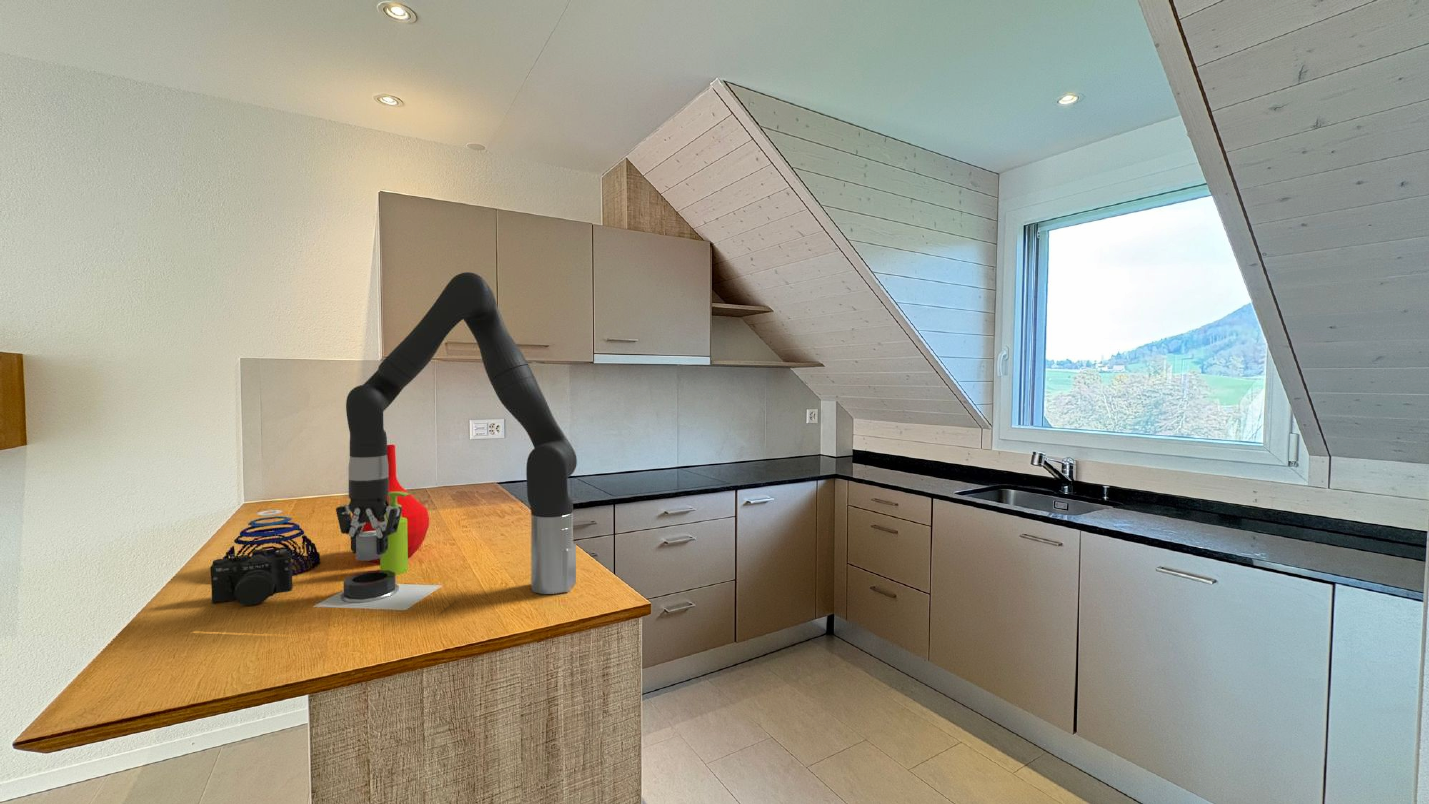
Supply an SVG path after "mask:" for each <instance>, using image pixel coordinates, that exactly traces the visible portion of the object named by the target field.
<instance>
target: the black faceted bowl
mask: <svg viewBox="0 0 1429 804" xmlns="http://www.w3.org/2000/svg"><path fill="white" fill-rule="evenodd" d="M397 584H398V583H396V575H395V572H392V571H387V570H369V571H364V572H359V573H356V574H353V575H350V576H348V577H346V578H345V579H344V581H343V590H344V592H343V593H342V594H341V600H342V601H344V602H348V603H365V602H372V601H377V600H381V599H384V598H387V597H390V596H392V595H394V594H395V593H397V592H398V591H399V586H398V585H397Z"/></svg>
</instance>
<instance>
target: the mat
mask: <svg viewBox="0 0 1429 804" xmlns="http://www.w3.org/2000/svg"><path fill="white" fill-rule="evenodd" d="M396 584H397V585H398V586H399V591H398V592H397V593H395V594H394V595H392V596H390V597H387V598H384V599H381V600H377V601H372V602H365V603H348V602H344V601H342V600H341V594H342V593H343V592H344V589H343V590H342V591H339V592H338V593H336V594H333V595H332V596H330V597H328V598H327V599H325V600H323V601H321V602H318V603H316V604H315V605H313V606H312V608H318V607H319V608H334V609H336V608H338V609H340V608H341V609H366V610H367V609H371V610H391V611H392V610H394V611H397V610H398V611H406V610H408V609H409V608H411V607H413V606H414V605H416V604H417V603H419V602H420V601H422V600H423V599H425V598H426V597H427V596H429V595H431V594H433V592H435V591H437V590H438V589H439V588H441V587H443V585H440V584H439V585H437V584H410V583H409V584H407V583H405V584H404V583H396Z"/></svg>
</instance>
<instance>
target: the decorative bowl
mask: <svg viewBox="0 0 1429 804" xmlns="http://www.w3.org/2000/svg"><path fill="white" fill-rule="evenodd" d="M282 513H283V510H281V509H280V510H279V509H276V510H275V509H273V510H272V509H271V510H265V511H260V512H257V516H260V517H261V518H257V519H253V520H251V521H249V522H248V523H247V525H248V527H246V528H244V529H242V530H240V532H239V535H238V536H236V538H235V539H233V541H234V542H233V543H234V544H236V545H242V546H241V548H240V549H239V550H238V551H237V553H236V552H235V545H232V546H231V547H229V549H228V550H227V551H226V552H225V555H224V556H223V557H222V559H223V558H225V559H227V558H231V554H235V555H234V557H238V556H242V555H249V556H250V557H252V552H253V550H256V549H258V548H259V547H261V546H263V547H261V549H265V550H266V554H267V556H272V555H275V553H277V552H278V551H279V550H282V549H287V551H290V554H291V556H292V558H291V562H292V567H295V569H294V568H292V577H295V576H298V575H302V574H304V573H306V572H307V573H308V572H309V571H312V570H313V569H315V568H317V567H318V566H319V565H320V564H321V555H320V554H321V553H320V552H319V551H318V549H317V546H316V544H315V543H314V542H312V540H311V539H310V538H309V537H308V535H305V531H304V529H302V528H301V527H300V525H299V524H298V523H296V522H291V521H292V520H293V519H292V517H289V516H283V515H282V516H279V514H282ZM275 515H276V516H275ZM263 516H264V517H263ZM265 516H266V517H265ZM267 516H268V517H267ZM274 519H282V520H278V521H271V522H259V521H264V520H265V521H266V520H274ZM288 525H289V526H288ZM271 526H272V527H271ZM273 526H279V527H273ZM264 527H270V528H264ZM258 528H259V529H258ZM260 528H262V529H260ZM254 529H257V530H254ZM250 530H253V531H250ZM294 531H299V532H296V533H293V532H294ZM289 533H293V534H291V535H283V534H289ZM245 537H246V538H253V539H252V540H246V539H245V540H242V539H243V538H245ZM299 537H301V539H302V545H301V546H300V545H299V543H298V542H297V541H295V540H294V539H296V538H298V539H299ZM268 544H275V545H280V546H282V547H278V546H277V547H276V546H274V545H270V546H265V545H268ZM291 547H292V548H291ZM251 548H252V549H251ZM250 549H251V550H250ZM297 550H299V551H297ZM301 550H303V551H301ZM248 551H249V552H248ZM304 553H306V555H304ZM293 561H294V562H293ZM298 567H299V568H298Z"/></svg>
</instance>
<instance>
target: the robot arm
mask: <svg viewBox="0 0 1429 804" xmlns="http://www.w3.org/2000/svg"><path fill="white" fill-rule="evenodd" d="M461 321H464V323H465V324H466V325H467V327H468V329H469V331H470V332H471V334H472V336H473V338H474V339H475V340H476V343H477V346H478V348H479V352H480V355H481V360H482V364H483V367H484V371H485V372H486V375H487V378H488V380H489V382H490V384H491V386H492V388H493V390H494V392H495V394H496V396H497V398H498V400H499V401H500V403H501V404H502V405H503V407H504V408H505V409H506V410H507V411H508V413H510V415H512V417H514V419H515V420H517V422H518V423H519V424H520V425H521V427H522V428H523V429H524V430H525V432H526V434H527V435H528V437H529V439H530V442H531V443H532V446H533V449H532V450H531V451H530V453H529V455H528V457H527V459H526V475H525V476H526V492H527V493H526V494H527V501H528V504H529V506H530V553H531V554H530V559H531V560H530V569H531V570H530V571H531V576H530V577H531V579H530V582H531V585H530V586H531V587H530V588H531V590H532V592H533V593H536V594H539V595H540V594H541V595H553V594H560V593H561V594H562V593H569V592H570V591H571V589H572V588H573V587H574V586H575V585H576V584H577V544H576V542H574V502H573V499H572V497H571V498H570V497H569V493H568V478H569V477H571V476H572V475H573V473H574V472H575V471H576V469H577V464H578V462H577V461H578V460H577V454H576V451H575V450H574V447H573V446H572V444H571V443H570V441H569V439H568V438H567V436H565V434H564V432H563V430H562V429H561V427H560V425H559V424H558V422H557V421H556V419H555V417H554V415H553V414H552V411H551V408H550V407H549V405H548V403H547V400H546V398H545V396H544V394H543V391H542V390H541V388H540V385H539V384H538V381H537V379H536V377H535V375H534V373H533V370H532V369H531V366H530V365H529V363H528V361H527V359H526V358H525V356H524V354H523V353H522V351H521V349H520V348H519V346H518V344H517V343H516V342H515V340H514V338H513V337H512V336H511V334H510V332H509V331H508V329H507V328H506V325H505V322H504V320H503V318H502V314H501V313H500V309H499V306H498V303H497V301H496V297H495V294H494V292H493V290H492V289H491V287H490V285H489V283H488V282H486V280H485V279H484V278H483V277H482V276H480V275H479V274H477V273H474V272H471V271H470V272H467V271H466V272H461V273H459V274H456V275H455V276H454V277H452V278H451V280H450V281H449V282H448V283H447V284H446V286H445V287H444V289H443V290H442V291H441V293H440V294H439V296H438V297H437V299H436V300H435V302H434V303H433V305H432V306H431V307H430V309H428V311H427V312H426V314H425V315H424V316H423V317H422V319H421V320H420V321H419V322H418V324H417V325H415V327H414V328H413V329H412V330H411V331H410V332H409V334H407V336H405V338H404V339H403V340H402V341H401V342H400V343H399V344H398V345H397V346H396V347H395V348H394V349H393V350H391V352H390V353H389V354H388V355H387V356H386V357H385V358H384V359H383V360H382V361H381V362H380V364H379V365H378V368H377V370H376V371H375V372H374V373H373V374H372V375H371V376H370V377H369V378H368V379H367V380H366V381H365V382H364V383H363V384H361V385H357V386H355V387H354V388H352V389H351V390H350V391H349V393H348V394H347V397H346V402H345V410H346V411H345V412H346V413H345V414H346V419H347V426H348V430H349V459H348V460H349V461H348V468H347V469H348V473H347V474H348V498H349V500H350V501H349V502H348V504H344V505H340V506H337V507H336V508H335V512H336V516H337V521H338V525H339V529H340V532H341V534H344V535H345V534H346V535H348V536H349V537H350V550H351V551H352V554H355V555H356V535H358V534H359V533H361V532H362V529H363V526H364V525H365V524H366V522H367V523H371V525H372V527H373V529H375V531H376V534H377V537H378V538H377V554H378V555H382V554H384V553H385V552H386V551H387V550H388V536H389V535H391V534H393V533H395V532H397V529H398V525H399V520H400V516H401V512H402V508H401V507H392V506H389V503H388V501H387V498H388V494H389V476H388V459H387V445H388V437H387V432H386V430H384V411H386V409H388V408H389V407H390V405H391V404H392V403H393V402H394V401H395V400H396V399H397V397H398V396H399V395H400V393H401V392H402V391H403V390H404V388H406V387H407V385H409V384H410V383H411V382H412V381H413V380H414V379H415V378H416V377H417V376H418V375H419V374H420V373H421V372H422V371H423V370H424V369H425V368H426V367H427V366H428V364H429V363H430V362H431V360H433V357H434V356H435V354H436V353H437V352H438V350H439V348H440V347H441V345H442V343H443V341H444V340H445V338H446V337H447V336H448V334H450V333H451V331H452V330H453V329H454V328H455V327H456V326H457V325H458V324H459V323H460V322H461ZM386 512H388V514H387V516H389V517H388V522H387V519H386V516H385V513H386ZM351 514H352V515H354V516H353V519H352V515H351ZM378 521H380V523H378ZM575 583H576V584H575ZM574 584H575V585H574ZM572 586H573V587H572ZM569 590H570V591H569ZM568 591H569V592H568Z"/></svg>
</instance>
